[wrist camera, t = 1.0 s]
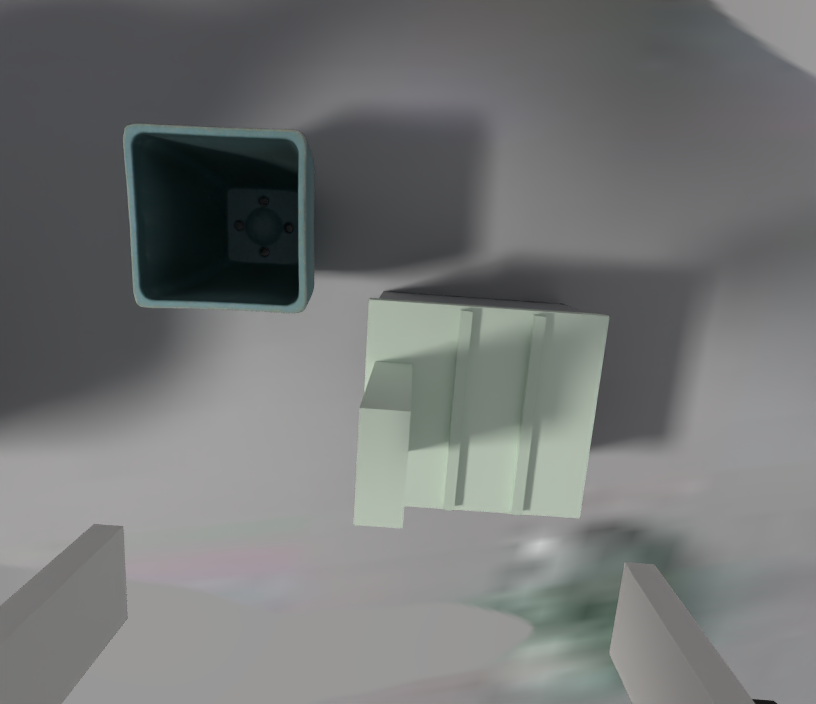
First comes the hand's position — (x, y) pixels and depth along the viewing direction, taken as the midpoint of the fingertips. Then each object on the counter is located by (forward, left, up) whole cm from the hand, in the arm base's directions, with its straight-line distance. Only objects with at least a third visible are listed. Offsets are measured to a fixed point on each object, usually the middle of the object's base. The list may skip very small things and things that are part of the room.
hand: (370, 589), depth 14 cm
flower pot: (-9, +9, -23) cm, 27 cm away
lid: (+5, 0, -16) cm, 17 cm away
